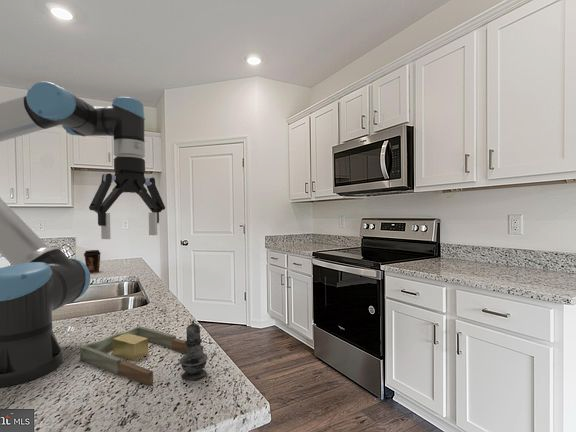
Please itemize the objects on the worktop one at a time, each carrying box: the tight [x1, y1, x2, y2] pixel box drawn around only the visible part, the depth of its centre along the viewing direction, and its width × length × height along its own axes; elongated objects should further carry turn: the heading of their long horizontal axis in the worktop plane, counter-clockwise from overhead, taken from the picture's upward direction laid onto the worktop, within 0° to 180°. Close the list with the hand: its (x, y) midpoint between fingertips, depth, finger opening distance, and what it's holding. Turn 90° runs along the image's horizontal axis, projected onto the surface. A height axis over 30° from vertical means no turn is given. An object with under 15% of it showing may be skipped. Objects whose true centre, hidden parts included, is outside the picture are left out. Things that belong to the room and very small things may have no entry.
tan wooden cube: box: [122, 336, 149, 361], centre depth 80 cm, size 4×4×4 cm
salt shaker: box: [179, 319, 209, 382], centre depth 70 cm, size 6×6×12 cm
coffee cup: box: [83, 249, 102, 275], centre depth 191 cm, size 9×8×13 cm
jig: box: [79, 325, 204, 386], centre depth 79 cm, size 16×25×3 cm, turn 60°
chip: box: [112, 333, 136, 358], centre depth 82 cm, size 4×4×4 cm
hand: (131, 237), depth 87 cm, fingers open, 13 cm apart
